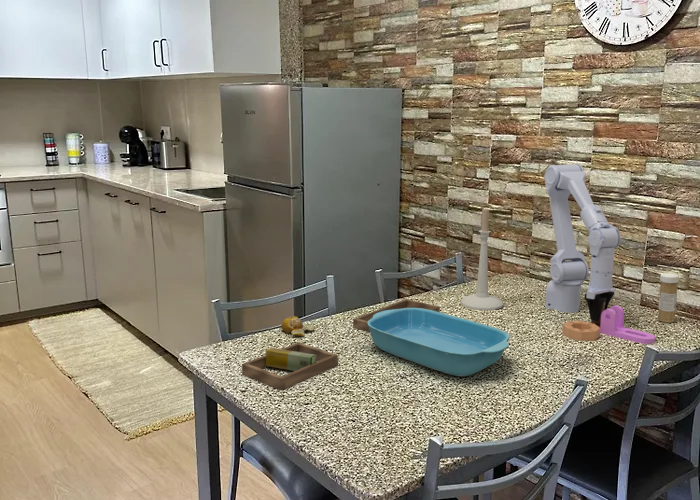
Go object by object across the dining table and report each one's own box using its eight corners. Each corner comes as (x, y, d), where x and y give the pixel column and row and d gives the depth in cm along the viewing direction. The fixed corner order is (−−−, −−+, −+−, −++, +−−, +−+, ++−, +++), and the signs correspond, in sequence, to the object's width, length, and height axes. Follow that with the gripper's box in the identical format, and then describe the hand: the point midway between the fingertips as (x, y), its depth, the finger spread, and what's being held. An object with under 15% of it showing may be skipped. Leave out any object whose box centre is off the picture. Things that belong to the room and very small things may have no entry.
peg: (589, 323, 178) (591, 299, 176) (593, 321, 180) (595, 297, 178) (600, 326, 175) (603, 302, 174) (605, 323, 178) (607, 299, 176)
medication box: (316, 371, 146) (317, 354, 145) (311, 374, 143) (312, 357, 143) (270, 363, 150) (270, 346, 149) (264, 366, 147) (265, 349, 147)
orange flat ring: (558, 335, 168) (558, 326, 168) (571, 327, 175) (571, 318, 174) (590, 343, 163) (591, 334, 162) (602, 334, 169) (603, 325, 169)
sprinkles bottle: (662, 317, 183) (665, 271, 180) (678, 320, 179) (681, 274, 177) (654, 320, 180) (657, 274, 177) (670, 324, 177) (673, 277, 174)
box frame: (242, 374, 144) (242, 364, 144) (298, 352, 158) (298, 342, 157) (281, 390, 136) (281, 379, 135) (338, 365, 149) (337, 355, 149)
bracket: (599, 333, 170) (601, 308, 169) (609, 328, 174) (611, 304, 173) (649, 345, 161) (651, 319, 160) (658, 340, 165) (660, 314, 163)
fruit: (298, 337, 166) (297, 324, 165) (274, 333, 171) (273, 320, 170) (317, 328, 173) (316, 315, 172) (293, 324, 177) (292, 312, 177)
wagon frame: (353, 327, 175) (353, 319, 175) (406, 306, 194) (406, 298, 193) (387, 337, 167) (387, 328, 167) (439, 314, 186) (439, 306, 185)
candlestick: (457, 307, 193) (460, 209, 186) (464, 296, 204) (467, 203, 198) (500, 312, 188) (505, 211, 182) (504, 300, 200) (509, 205, 194)
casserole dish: (526, 361, 152) (528, 333, 150) (474, 390, 136) (476, 359, 134) (405, 326, 177) (406, 301, 175) (350, 347, 161) (350, 321, 159)
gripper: (607, 278, 167) (602, 327, 169) (625, 268, 177) (621, 314, 180) (580, 274, 171) (576, 322, 174) (599, 264, 182) (596, 309, 185)
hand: (597, 318), depth 177 cm, fingers open, 4 cm apart
